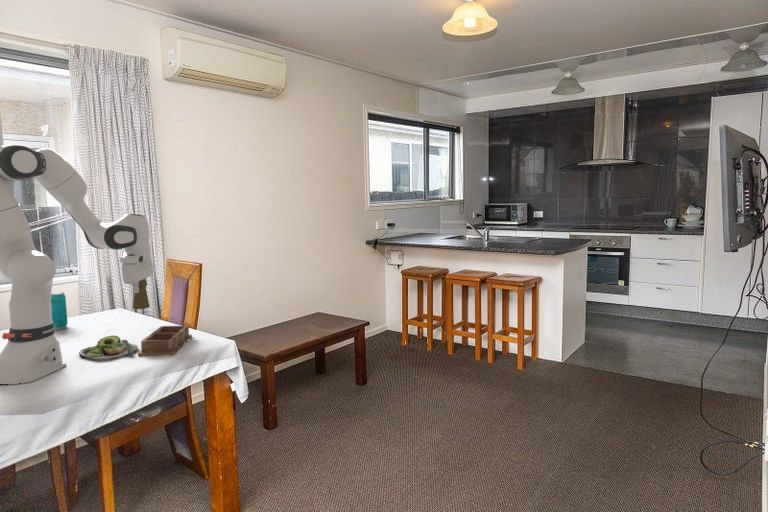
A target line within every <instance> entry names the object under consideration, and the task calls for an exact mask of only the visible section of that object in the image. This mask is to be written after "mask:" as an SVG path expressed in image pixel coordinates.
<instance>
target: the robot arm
mask: <svg viewBox="0 0 768 512" xmlns="http://www.w3.org/2000/svg"><path fill="white" fill-rule="evenodd" d="M32 178H33V179H35V181H37V182H38V183H40V185H41V186H42V187H43V188H44V189H45V191H46V192H48V193H49V194H50V195H51V196H52V197H53V198H54V199H55V200H56V201H57V202H58V203H59V204H60V205H61V206H62V207H63V208H64V210H65V211H66V212H67V213H68V214H69V216H70V217H72V219H73V220H74V221H75V222H76V224H77V225H78V226H79V227H80V229H81V230H82V231H83V232H82V233H83V234H84V237H85V239H86V242H87V243H88V244H89V245H90V246H91V247H93V248H94V249H98V250H100V249H101V250H102V249H103V250H104V249H105V250H113V251H117V250H122V249H124V253H123V255H122V256H121V257H120V258H119V262H120V264H122V265H121V275H122V281H123V284H125V285H131V286H132V288H133V294H134V293H139V292H140V288H139V285H138V284H139V281H141V280H143V279H144V280H146V281H147V282H148V278H149V277H151V276H153V275H154V265H153V260H152V255H151V254H152V253H151V245H150V226H149V222H148V219H147V217H146V216H145V215H143V214H137V213H125V214H124V216H122V217H120V218H119V219H118V220H115V221H113V222H111V223H109V222H106V221H105V222H104V221H103V220H100V219H99V218H98V217H97V216H96V215H95V214H94V213H93V211H92V210H91V209H90V207H89V206H88V205H87V203H86V202H85V197H86V195H87V193H88V192H87V191H88V185H87V183H86V182H85V180H84V179H83V177H82V176H81V174H80V173H79V172H78V170H76V169H75V168H74V167H73V165H71V164H70V162H68V161H67V160H66V159H65V158H64V157H63V156H61V154H59V153H58V152H57V151H55V150H54V149H52V148H40V149H37V150H35V149H33V148H31V147H28V146H26V145H22V144H1V145H0V271H1V274H3V276H5V278H6V279H8V280H11V292H10V300H9V303H8V310H9V318H10V319H9V320H10V327H9V331H8V332H3V333H2V335H1V338H2V339H3V340H7V343H6V345H5V346H4V348H3V349H2V350H1V352H0V384H8V385H19V383H21V384H26V383H31V382H32V383H33V382H34V381H36V380H39V379H41V378H42V377H45V376H47V375H49V374H52V373H54V372H55V371H58V370H60V369H62V368H64V367H66V366H67V362H66V361H64V360H63V356H62V351H61V350H62V349H61V345H60V341H59V340H58V339H57V337H56V336H55V333H56V329H55V326H54V322H52V312H51V293H52V291H53V283H54V278H55V276H56V273H57V272H56V270H57V268H56V264H55V263H54V261H53V260H52V259H51V257H49V256H48V255H47V254H46V253H43V252H41V251H38V250H37V248H36V247H35V243H34V241H33V237H32V231H31V230H32V229H31V225H30V223H29V220H28V218H27V216H26V215H25V212H24V210H23V209H22V206H21V204H20V202H19V199H18V197H17V196H16V192H15V183H16V182H18V181H19V182H20V181H25V180H26V181H27V180H30V179H32Z"/></svg>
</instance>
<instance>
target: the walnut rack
mask: <svg viewBox="0 0 768 512" xmlns="http://www.w3.org/2000/svg"><path fill="white" fill-rule="evenodd" d="M189 327H190V326H189V325H160V326H159V327H158V328H157V329H156V330H154V331H153V332H151V333H150V334H148V336H146V337H145V338H144V339H141V340H140V345H141V350H140V351H139V352H138V353H137V356H138V357H154V356H155V357H156V356H157V357H159V356H161V357H162V355H172V356H175V355H176V354H177V352H179V351H180V349H181V348H182V347H183V346H184V345H185V344H186V343H187V342H188V341H189V340H190V338H191V337H193V335H192V334H190V331H189ZM188 339H189V340H188ZM187 340H188V341H187ZM186 341H187V342H186ZM185 342H186V343H185ZM184 343H185V344H184ZM183 344H184V345H183ZM182 345H183V346H182ZM181 346H182V347H181Z"/></svg>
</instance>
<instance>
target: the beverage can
mask: <svg viewBox="0 0 768 512" xmlns="http://www.w3.org/2000/svg"><path fill="white" fill-rule="evenodd" d="M51 312H52V322H54V326H55V330H62V329H66V328H67V326H68V323H69V322H68V313H67V312H68V311H67V299H66V295H65V292H64V291H53V292H51Z"/></svg>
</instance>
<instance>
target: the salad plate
mask: <svg viewBox="0 0 768 512" xmlns="http://www.w3.org/2000/svg"><path fill="white" fill-rule="evenodd" d="M138 347H139V346H138V345H137V344H133V343H129V341H128V340H127V339H122V340H121V338H120V336H118V335H108V336H105V337H102V338H100V339H99V340H98V341H97V344H96V345H94V346H89V347H86V348H82V349H81V350H79V352H78V355H79V356H80V357H81V358H83V359H87V358H88V360H92V359H93V360H92V361H101V360H102V361H110V359H112V360H116V359H119V358H122V357H126V356H129V355H133V354H134V352H135V351H137V349H138ZM103 355H104V356H103ZM109 355H110V356H109Z"/></svg>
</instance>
